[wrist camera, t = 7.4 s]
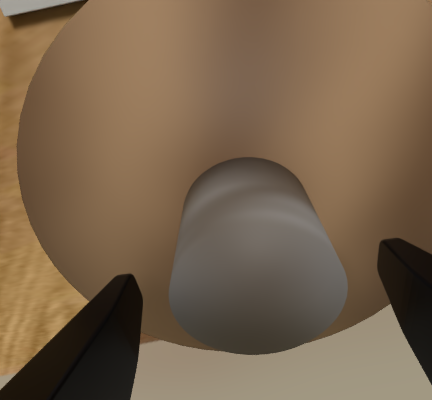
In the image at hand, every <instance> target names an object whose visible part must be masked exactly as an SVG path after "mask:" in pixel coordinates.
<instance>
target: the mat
mask: <svg viewBox="0 0 432 400" xmlns="http://www.w3.org/2000/svg"><path fill="white" fill-rule="evenodd" d="M78 1H83V0H0V7H1V10H2V12H3V14H4V16H14V15H18V14H23V13H28V12H32V11H37V10H41V9H46V8H50V7H55V6H60V5H64V4H69V3H73V2H78Z"/></svg>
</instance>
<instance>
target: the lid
mask: <svg viewBox="0 0 432 400" xmlns="http://www.w3.org/2000/svg"><path fill="white" fill-rule="evenodd" d="M17 171H18V179H19V184H20V189H21V195H22V200H23V203H24V206H25V209H26V212H27V215H28V218H29V221H30V224H31V226H32V228H33V230H34V232H35V234H36V236H37V238H38V240H39V242H40V244H41V246H42V248H43V249H44V251H45V252H46V254H47V255H48V257H49V258H50V260H51V261H52V263H53V264H54V266H55V267H56V268H57V269H58V270H59V272H60V273H61V274H62V275H63V276H64V277H65V279H66V280H67V281H68V282H69V283H70V284H71V285H72V286H73V287H74V288H75V289H76V290H77V291H78V292H79V293H80V294H82V295H83V296H84V297H85V298H86V299H87V300H88V301H91V300H92V299H93V298H94V297H95V296H96V295H97V294H98V293H99V292H100V291H101V290H102V289H103V288H104V287H105V286H106V285H107V284H108V283H109V282H110V281H111V280H112V279H113V278H114V277H115V276H117V275H120V274H128V273H131V274H133V275H134V277H135V279H136V281H137V284H138V286H139V289H140V291H141V293H142V296H143V312H142V323H141V332H142V333H144V334H147V335H150V336H152V337H155V338H158V339H161V340H164V341H167V342H171V343H175V344H178V345H182V346H187V347H193V348H198V349H204V350H215V351H225V352H230V353H236V354H246V355H259V354H270V353H276V352H281V351H285V350H288V349H292V348H295V347H297V346H300V345H302V344H304V343H308V342H312V341H315V340H318V339H321V338H324V337H327V336H330V335H333V334H335V333H337V332H340V331H342V330H345V329H347V328H349V327H352V326H354V325H356V324H357V323H359V322H361V321H363V320H365V319H367V318H369V317H371V316H372V315H374V314H375V313H377V312H378V311H380V310H382V309H383V308H384V307H386V306H388V305H389V304H391V303H390V301H389V298H388V296H387V293H386V291H385V289H384V286H383V284H382V281H381V279H380V277H379V274H378V270H377V259H378V249H379V243H380V241H381V240H383V239H389V238H401V239H403V240H405V241H407V242H409V243H411V244H413V245H415V246H417V247H419V248H421V249H422V250H424V251H426V252H428V253H430V254H432V5H431V4H430V3H429V2H428V1H427V0H88V1H87V2H86V4H85V5H84V6H83V7H82V8H81V9H80V10H79V11H78V12H77V13H76V14H75V15H74V16H73V17H72V18H71V19H70V20H69V21H68V22H67V23H66V24H65V25H64V26H63V28H62V29H61V31H60V32H59V34H58V35H57V36H56V38H55V39H54V41H53V42H52V44H51V45H50V47H49V48H48V49H47V51H46V52H45V54H44V55H43V57H42V59H41V62H40V64H39V66H38V68H37V70H36V72H35V74H34V76H33V78H32V81H31V83H30V85H29V88H28V91H27V95H26V98H25V101H24V105H23V108H22V112H21V115H20V122H19V131H18V139H17Z"/></svg>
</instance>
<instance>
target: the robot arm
mask: <svg viewBox="0 0 432 400" xmlns="http://www.w3.org/2000/svg"><path fill="white" fill-rule="evenodd" d="M377 270H378V274H379V277H380V279H381V281H382V284H383V286H384V289H385V291H386V293H387V296H388V298H389V301H390V303H391V305H392V308H393V310H394V313H395V315H396V317H397V320H398V322H399V324H400V327H401V329H402V331H403V333H404V335H405V337H406V339H407V341H408V343H409V345H410V347H411V348H412V350H413V352H414V354H415V356H416V357H417V359H418V361H419V363H420V365H421V366H422V368H423V370H424V372H425V374H426V375H427V377H428V379H429V381H430V383H431V385H432V254H430V253H428V252H426V251H424V250H422V249H421V248H419V247H417V246H415V245H413V244H411V243H409V242H407V241H405V240H403V239H401V238H389V239H383V240H381V241H380V243H379V249H378V259H377ZM142 312H143V296H142V293H141V291H140V289H139V286H138V284H137V281H136V279H135V277H134V275H133V274H131V273H128V274H120V275H117V276H115V277H114V278H113V279H112V280H111V281H110V282H109V283H108V284H107V285H106V286H105V287H104V288H103V289H102V290H101V291H100V292H99V293H98V294H97V295H96V296H95V297H94V298H93V299H92V300H91V301H90V302H89V303H88V304H87V305H86V306H85V307H84V308H83V309H82V310H81V311H80V312H79V313H78V314H77V315H76V316H75V317H74V318H72V319H71V320H70V321H69V322H68V323H67V324H66V325H65V326H64V327H63V328H62V329H61V330H60V331H59V332H58V333H57V334H56V335H55V336H54V337H53V338H52V339H51V340H50V341H49V342H48V343H47V344H46V345H45V346H44V347H43V348H42V349H41V350H40V351H39V352H38V353H37V354H36V355H35V356H34V357H33V358H32V359H31V360H30V361H29V362H28V363H27V364H26V365H25V366H24V367H23V368H22V369H21V370H20V371H19V372H18V373H17V374H16V375H15V376H14V377H13V378H12V379H11V380H10V381H9V382H8V383H7V384H6V385H5V386H4V387H3V388H2V389H1V390H0V400H130V398H131V393H132V388H133V383H134V378H135V373H136V368H137V362H138V354H139V345H140V334H141V323H142Z"/></svg>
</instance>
